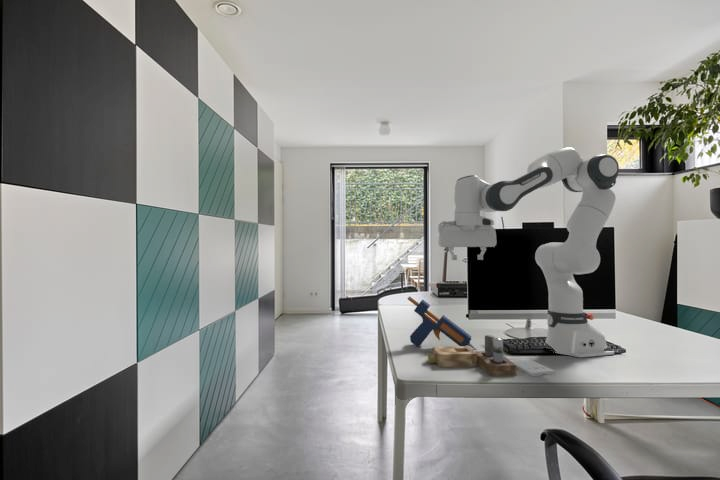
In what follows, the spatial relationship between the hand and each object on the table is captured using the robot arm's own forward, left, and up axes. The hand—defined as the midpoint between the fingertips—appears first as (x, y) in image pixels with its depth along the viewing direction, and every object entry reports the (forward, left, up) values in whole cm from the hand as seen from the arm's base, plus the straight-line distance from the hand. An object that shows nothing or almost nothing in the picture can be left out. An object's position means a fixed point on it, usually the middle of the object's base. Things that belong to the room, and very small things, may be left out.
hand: (467, 259), depth 145 cm
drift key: (+12, +11, -33) cm, 37 cm away
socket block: (+8, +11, -33) cm, 36 cm away
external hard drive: (-14, +18, -34) cm, 41 cm away
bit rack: (-3, +17, -33) cm, 37 cm away
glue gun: (+8, -7, -33) cm, 35 cm away
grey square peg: (-3, +20, -33) cm, 39 cm away
